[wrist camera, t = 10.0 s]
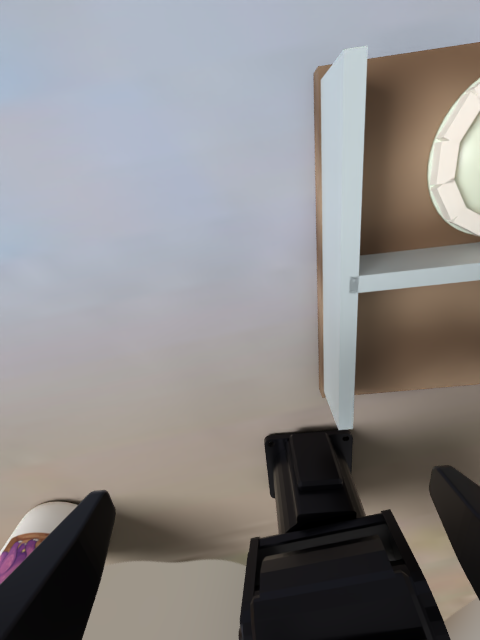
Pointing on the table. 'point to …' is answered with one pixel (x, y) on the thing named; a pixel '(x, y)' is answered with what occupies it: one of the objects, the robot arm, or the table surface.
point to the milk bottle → (31, 534)
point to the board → (397, 223)
